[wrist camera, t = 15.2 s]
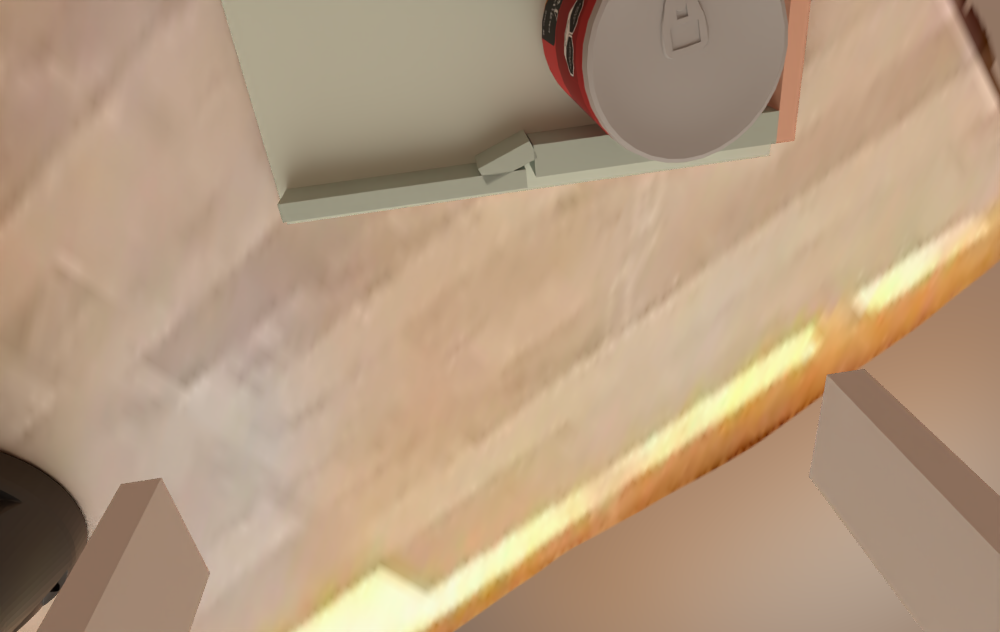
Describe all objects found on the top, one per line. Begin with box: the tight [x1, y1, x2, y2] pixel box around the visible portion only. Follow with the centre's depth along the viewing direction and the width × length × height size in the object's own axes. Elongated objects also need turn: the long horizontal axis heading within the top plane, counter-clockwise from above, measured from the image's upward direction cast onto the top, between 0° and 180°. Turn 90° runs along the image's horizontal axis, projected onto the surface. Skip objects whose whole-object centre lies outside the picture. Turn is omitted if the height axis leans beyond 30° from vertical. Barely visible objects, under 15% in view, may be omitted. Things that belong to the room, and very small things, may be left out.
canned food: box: [542, 0, 788, 163], centre depth 28 cm, size 8×8×11 cm
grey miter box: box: [221, 0, 811, 224], centre depth 32 cm, size 28×16×4 cm, turn 96°
